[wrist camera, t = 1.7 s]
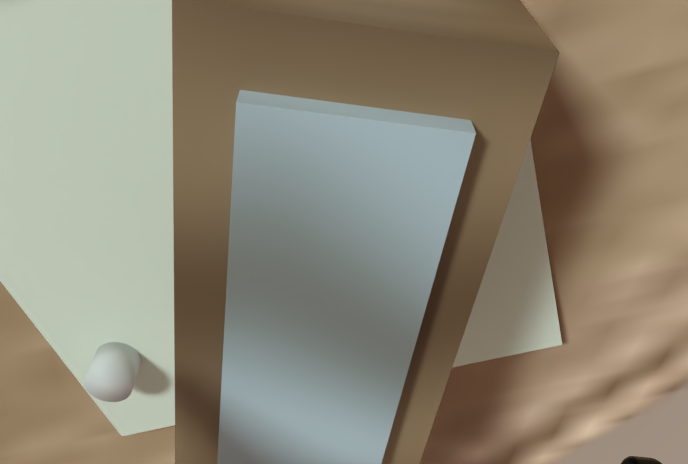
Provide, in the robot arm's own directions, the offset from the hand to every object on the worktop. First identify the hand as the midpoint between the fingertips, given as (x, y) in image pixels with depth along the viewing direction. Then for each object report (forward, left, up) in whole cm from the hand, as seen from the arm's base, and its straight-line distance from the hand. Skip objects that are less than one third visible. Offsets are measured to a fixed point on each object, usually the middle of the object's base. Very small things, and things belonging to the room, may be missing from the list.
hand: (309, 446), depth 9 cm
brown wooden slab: (0, 0, -7) cm, 7 cm away
